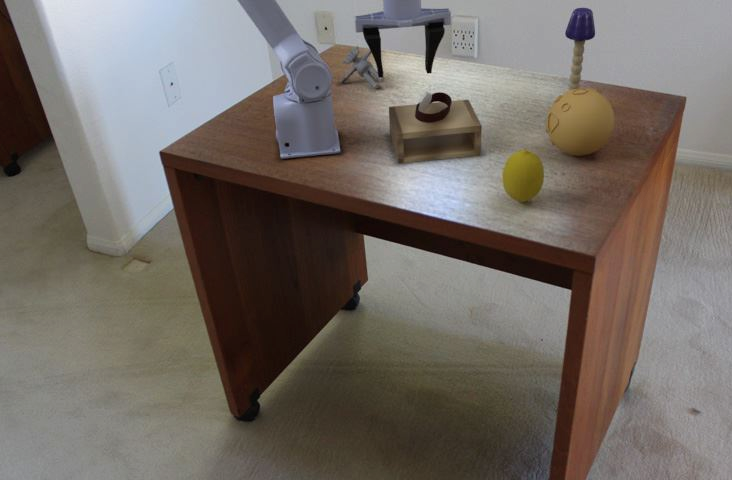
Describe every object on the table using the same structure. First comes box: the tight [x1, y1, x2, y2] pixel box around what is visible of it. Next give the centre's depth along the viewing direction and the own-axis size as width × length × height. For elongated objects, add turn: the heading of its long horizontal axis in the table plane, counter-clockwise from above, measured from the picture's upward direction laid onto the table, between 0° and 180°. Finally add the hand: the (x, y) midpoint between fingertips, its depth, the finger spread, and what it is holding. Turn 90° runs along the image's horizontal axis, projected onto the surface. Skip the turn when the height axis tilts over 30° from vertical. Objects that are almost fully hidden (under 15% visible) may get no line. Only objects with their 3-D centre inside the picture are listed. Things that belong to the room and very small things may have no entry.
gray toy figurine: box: [340, 45, 386, 90], centre depth 140 cm, size 10×6×9 cm
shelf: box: [388, 99, 483, 164], centre depth 118 cm, size 13×10×5 cm
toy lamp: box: [564, 7, 596, 91], centre depth 122 cm, size 5×5×17 cm
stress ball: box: [544, 86, 615, 157], centre depth 112 cm, size 10×10×10 cm
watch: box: [415, 91, 453, 123], centre depth 115 cm, size 8×5×4 cm, turn 145°
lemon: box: [502, 149, 545, 204], centre depth 102 cm, size 6×6×8 cm
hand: (404, 73), depth 119 cm, fingers open, 7 cm apart
